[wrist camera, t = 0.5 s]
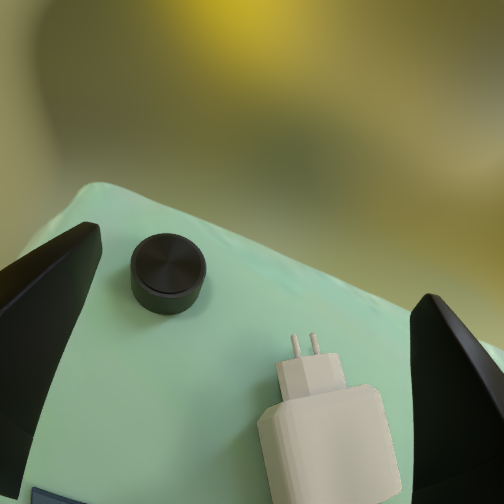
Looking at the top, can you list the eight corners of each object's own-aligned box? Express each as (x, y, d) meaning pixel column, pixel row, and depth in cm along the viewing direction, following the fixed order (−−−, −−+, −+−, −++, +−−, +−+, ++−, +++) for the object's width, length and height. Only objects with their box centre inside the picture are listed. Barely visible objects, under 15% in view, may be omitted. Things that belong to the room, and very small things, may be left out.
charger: (335, 339, 29) (371, 489, 21) (239, 348, 26) (273, 524, 18) (363, 317, 25) (408, 489, 17) (257, 327, 22) (300, 535, 14)
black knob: (195, 321, 26) (202, 304, 23) (123, 306, 25) (121, 288, 22) (204, 261, 29) (211, 240, 27) (139, 247, 28) (140, 225, 26)
